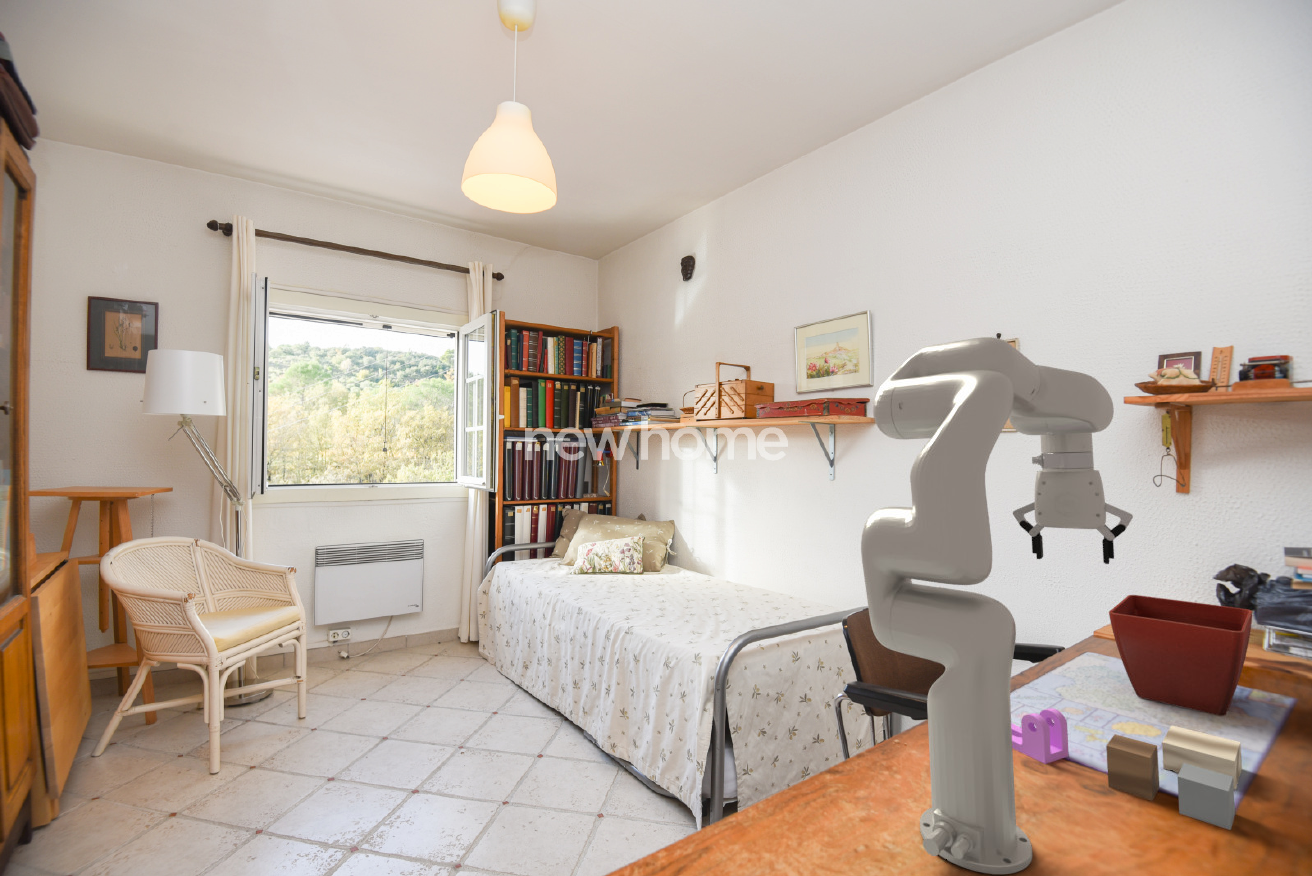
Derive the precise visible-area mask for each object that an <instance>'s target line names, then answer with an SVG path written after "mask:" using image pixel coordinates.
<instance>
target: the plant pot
mask: <svg viewBox="0 0 1312 876" xmlns="http://www.w3.org/2000/svg"><path fill="white" fill-rule="evenodd" d="M1253 612H1254V611H1253V610H1250V609H1247V608H1240V607H1233V606H1225V605H1217V604H1211V603H1210V604H1209V603H1201V602H1193V601H1185V600H1177V599H1170V598H1163V597H1155V596H1146V595H1138V594H1129V595H1127V596H1126V597H1124V598H1123V600H1121V601H1120V602H1119V603H1118V604H1117V605H1115V606H1114V607H1113V608H1112V609H1109V611H1108V616H1109V620H1110V625H1111V628H1112V633H1113V637H1114V640H1115V644H1116V648H1117V650H1118V654H1119V656H1120V659H1121V662H1122V664H1123V666H1124V670H1125V673H1126V675H1127V678H1128V680H1129V681H1130V684H1131V687H1132V689H1133V690H1134V692H1135V694H1136V696H1137V697H1138V698H1142V699H1146V700H1150V701H1154V702H1159V703H1162V704H1163V703H1164V704H1168V705H1172V706H1176V707H1180V708H1185V709H1188V710H1194V711H1198V712H1203V713H1207V714H1210V715H1215V716H1226V715H1227V714H1228V712H1229V708H1230V706H1231V704H1232V700H1233V697H1234V695H1235V692H1236V689H1237V688H1238V684H1239V681H1240V678H1241V675H1242V671H1243V668H1244V665H1245V659H1246V656H1247V652H1248V647H1249V643H1250V638H1251V637H1250V636H1251V631H1252V623H1253Z"/></svg>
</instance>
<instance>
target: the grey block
mask: <svg viewBox="0 0 1312 876" xmlns="http://www.w3.org/2000/svg"><path fill="white" fill-rule="evenodd" d="M1177 790H1178V791H1177V793H1178V811H1179V815H1183V816H1185V817H1189V818H1193V819H1196V820H1198V821H1201V822H1205V823H1207V824H1211V825H1214V826H1217V827H1219V828H1223V829H1226V830H1229V831H1231V830H1232V826H1233V824H1234V819H1235V816H1236V806H1235V792H1234V791H1235V789H1234V786H1233V776H1229V775H1226V774H1222V773H1218V772H1215V771H1211V770H1208V769H1204V768H1200V767H1197V766H1193V765H1190V764H1186V763H1183V765H1182V768H1181V770H1180V772H1179V773H1177Z"/></svg>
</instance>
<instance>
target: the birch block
mask: <svg viewBox="0 0 1312 876" xmlns="http://www.w3.org/2000/svg"><path fill="white" fill-rule="evenodd" d="M1170 725H1171V726H1170V727H1169V729H1168V731H1167V733H1166V734H1165V736H1164V738H1163V740H1162V741H1161V745H1162V746H1161V748H1162V763H1163V765H1162V766H1163V769H1164V770H1166V769H1167V770H1166V771H1170V770H1173V771H1175V772H1174V773H1177V774H1179V772H1180V770H1181V768H1182V765H1183V763H1186V764H1190V765H1193V766H1197V767H1200V768H1204V769H1208V770H1211V771H1215V772H1218V773H1222V774H1226V775H1229V776H1233V786H1234V790H1237V788H1238V785H1239V781H1240V778H1241V777H1240V776H1241V773H1242V771H1243V763H1242V762H1243V761H1242V745H1241V741H1238V740H1233V739H1229V738H1226V737H1221V736H1218V735H1217V736H1216V735H1213V734H1209V733H1205V732H1200V731H1197V730H1192V729H1189V728H1184V727H1180V726H1177V725H1172V724H1170ZM1173 771H1172V772H1173ZM1239 777H1240V778H1239ZM1238 780H1239V781H1238ZM1237 784H1238V785H1237Z"/></svg>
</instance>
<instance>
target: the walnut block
mask: <svg viewBox="0 0 1312 876" xmlns="http://www.w3.org/2000/svg"><path fill="white" fill-rule="evenodd" d="M1106 767H1107V781H1108V782H1107V785H1108V788H1110V789H1115V790H1117V791H1121V792H1123V793H1126V794H1129V795H1132V796H1136V797H1139V798H1142V799H1145V800H1148V801H1151V802H1153V801H1154V799H1155V796H1156V795H1157V793H1158V791H1159V788H1160V774H1159V773H1160V772H1159V755H1158V745H1156V744H1153V743H1149V742H1146V741H1141V740H1138V739H1135V738H1131V737H1126V736H1123V735H1119V734H1116V733H1114V734H1113V736H1112V737H1111V739H1110V740H1109V741H1108V742H1107V744H1106Z"/></svg>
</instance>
